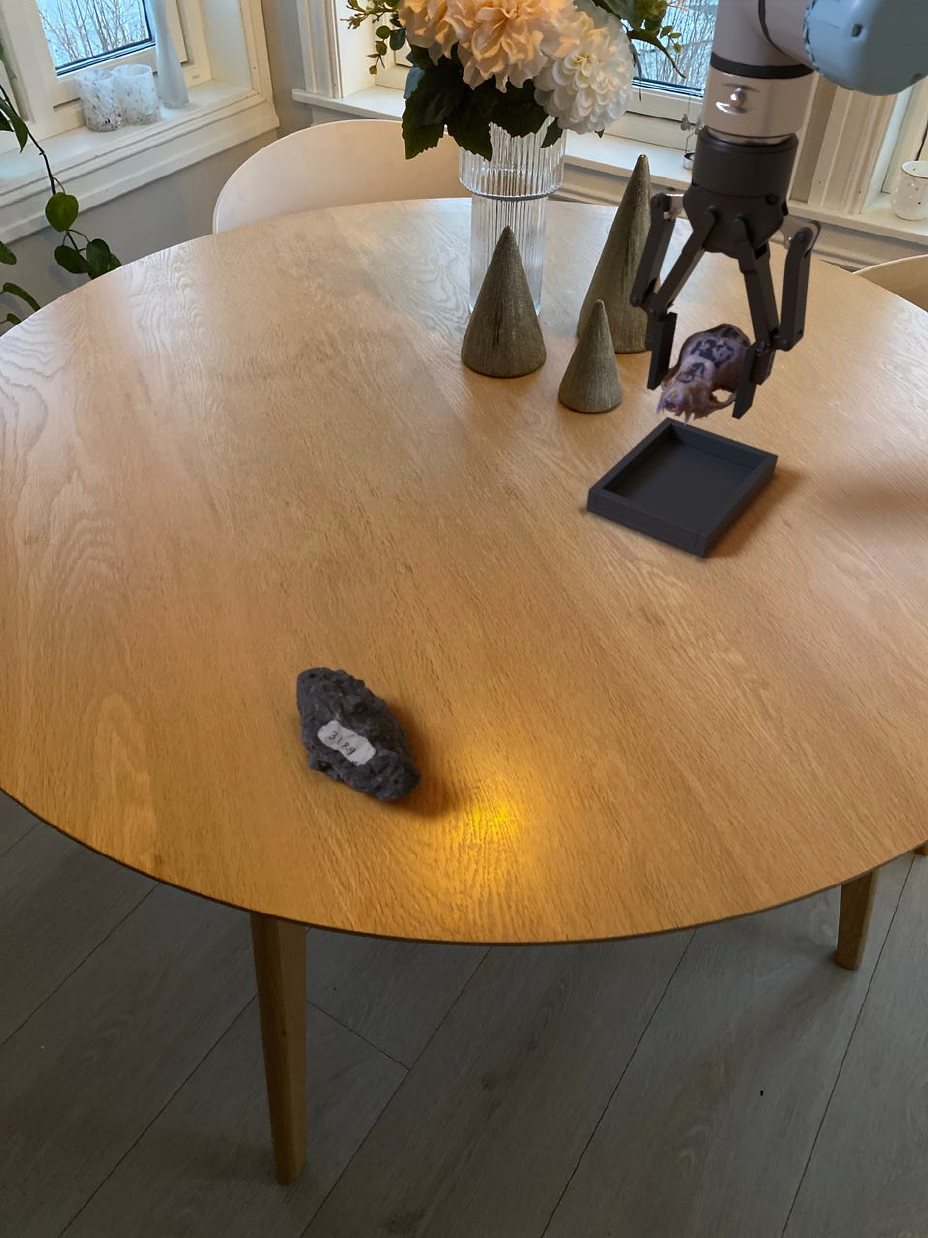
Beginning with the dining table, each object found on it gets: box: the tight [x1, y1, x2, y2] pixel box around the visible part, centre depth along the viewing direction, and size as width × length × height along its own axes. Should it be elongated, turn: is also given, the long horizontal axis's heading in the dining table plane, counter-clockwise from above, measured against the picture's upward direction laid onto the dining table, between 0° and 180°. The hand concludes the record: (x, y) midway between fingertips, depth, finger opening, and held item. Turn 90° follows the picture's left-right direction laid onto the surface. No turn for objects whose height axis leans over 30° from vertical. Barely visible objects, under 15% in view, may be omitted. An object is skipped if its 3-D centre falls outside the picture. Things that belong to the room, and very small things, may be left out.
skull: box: [655, 322, 752, 426], centre depth 86 cm, size 12×8×6 cm, turn 134°
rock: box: [295, 666, 424, 801], centre depth 73 cm, size 12×8×10 cm
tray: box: [586, 416, 779, 559], centre depth 99 cm, size 13×17×3 cm
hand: (698, 396), depth 88 cm, fingers closed on skull, 8 cm apart
